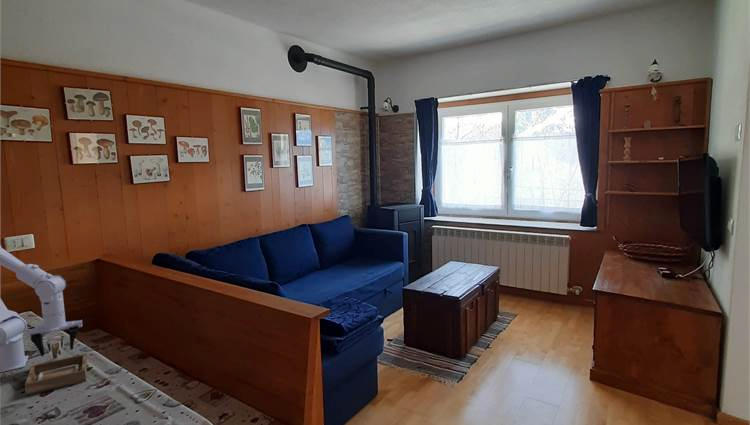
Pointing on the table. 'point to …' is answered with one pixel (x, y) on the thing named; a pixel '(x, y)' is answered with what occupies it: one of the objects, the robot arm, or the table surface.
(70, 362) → the socket box
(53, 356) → the milkshake
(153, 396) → the table surface
